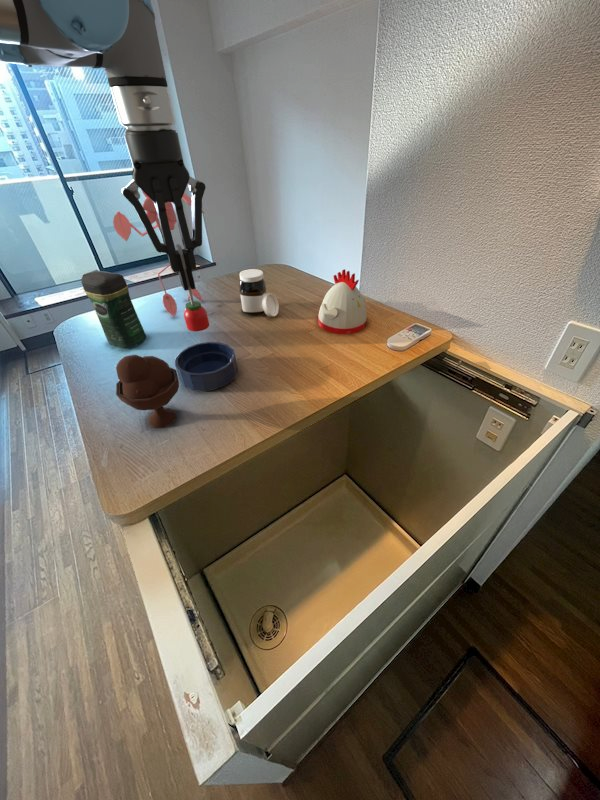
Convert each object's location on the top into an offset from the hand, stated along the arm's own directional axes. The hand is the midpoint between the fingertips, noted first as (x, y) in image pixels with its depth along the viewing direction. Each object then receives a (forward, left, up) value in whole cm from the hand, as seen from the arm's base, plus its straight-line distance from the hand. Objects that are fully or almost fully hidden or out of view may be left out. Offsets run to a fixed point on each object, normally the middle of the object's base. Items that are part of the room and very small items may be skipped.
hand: (188, 287), depth 63 cm
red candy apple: (0, 0, -8) cm, 8 cm away
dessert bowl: (0, 0, -21) cm, 21 cm away
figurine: (-27, +24, -21) cm, 42 cm away
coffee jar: (-30, +2, -21) cm, 37 cm away
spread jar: (-7, +33, -21) cm, 40 cm away
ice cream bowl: (+1, -16, -21) cm, 27 cm away
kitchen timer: (+18, +38, -21) cm, 47 cm away
